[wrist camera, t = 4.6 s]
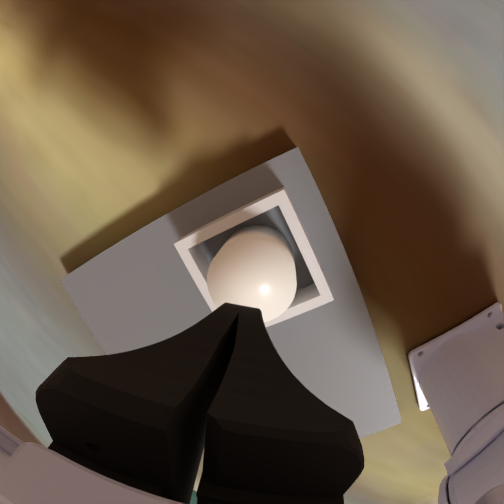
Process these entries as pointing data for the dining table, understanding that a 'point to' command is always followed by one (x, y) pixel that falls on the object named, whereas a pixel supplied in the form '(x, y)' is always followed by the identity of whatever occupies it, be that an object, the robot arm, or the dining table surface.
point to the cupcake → (193, 498)
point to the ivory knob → (254, 271)
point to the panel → (201, 305)
